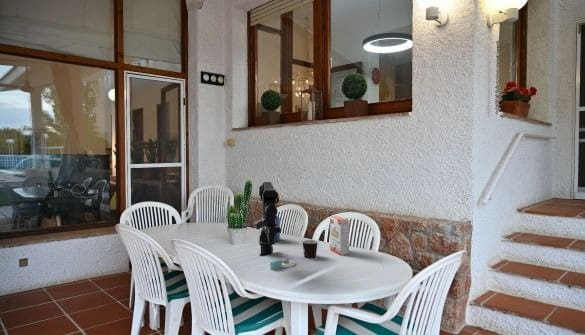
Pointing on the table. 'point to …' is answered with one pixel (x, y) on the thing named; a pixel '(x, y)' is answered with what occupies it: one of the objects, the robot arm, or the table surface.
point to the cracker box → (339, 235)
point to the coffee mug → (310, 248)
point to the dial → (281, 263)
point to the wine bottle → (277, 236)
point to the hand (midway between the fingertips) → (270, 243)
